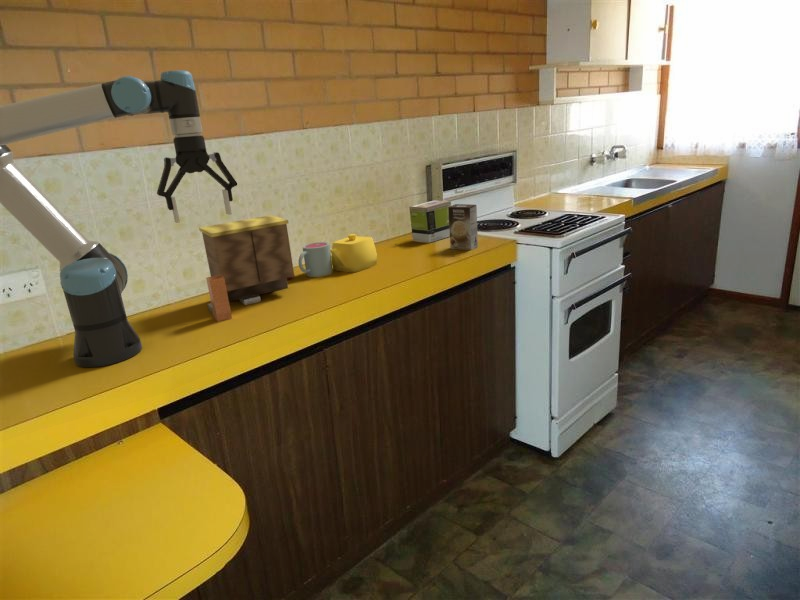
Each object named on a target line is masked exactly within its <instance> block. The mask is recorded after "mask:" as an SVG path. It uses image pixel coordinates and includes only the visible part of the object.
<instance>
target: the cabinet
mask: <svg viewBox="0 0 800 600" xmlns="http://www.w3.org/2000/svg"><path fill="white" fill-rule="evenodd" d="M287 224H289V219H287V218H282V217H280V216H276V215H266V216H260V217H253V218H247V219H241V220H236V221H229V222H224V223H217V224H212V225H205V226H200V227H199V231H200V233H201V234H202V238H203V244H204V249H205V254H206V259H207V263H208V268H209V274H210V277H211V276H216V275H222V276H223V277H224V279H225V284H226V289H227V294H228V300H229V303H230V302H233V301H237V300H240V298H239V296H243V295H248V294H252V293H256V294H258V295H259V296H260V295H264V294H268V293H271V292H276V291H280V290H284V289H289V286H288V280H287V278H288V277H292V276H293V277H295V272H294V270H295V269H294V264H293V258H292V257H293V256H292V253H291V251H292V250H291V246H290V244H291V243H290V238H289V231H288V225H287ZM293 277H292V278H293Z"/></svg>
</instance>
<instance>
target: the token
mask: <svg viewBox="0 0 800 600" xmlns="http://www.w3.org/2000/svg"><path fill="white" fill-rule="evenodd" d="M239 298H240V299H239V302H240V303H242V304H243V305H245V306H247V305H250V304H251V305H252V304H256V303H259V302H262V299H261V296H260V294H259V295H258V294H256V293H252V294H248V295H243V296H239Z"/></svg>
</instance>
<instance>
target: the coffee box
mask: <svg viewBox="0 0 800 600" xmlns="http://www.w3.org/2000/svg"><path fill="white" fill-rule="evenodd" d="M448 210H449V229H450V237H449V242H450V243H449V244H450V246H449V247H450V249H451V250H465V251H473V250H474V249H475V248H478V247H479V244H478V243H479V241H478V239H479V236H478V235H479V233H478V215H477V214H478V213H477V204H470V203H469V204H464V203H463V204H462V203H455V204H453V205H452V204H451V206H450V207H448Z"/></svg>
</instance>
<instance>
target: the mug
mask: <svg viewBox="0 0 800 600" xmlns="http://www.w3.org/2000/svg"><path fill="white" fill-rule="evenodd" d="M330 250H331V247H330V243H329V242H326V241H318V242H310V243H306V244H304V245H302V253H301V254H300V256H299V257H298V268H299V269H300V271H301V272H302V273H305V274H306V276H307V277H311V278H316V277H317V278H318V277H325V276H329V275H331V274H333V272H334V268H333V265H332V253H331V251H330ZM303 258H304V259H303ZM303 261H304V266H305V268H304V267H303Z"/></svg>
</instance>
